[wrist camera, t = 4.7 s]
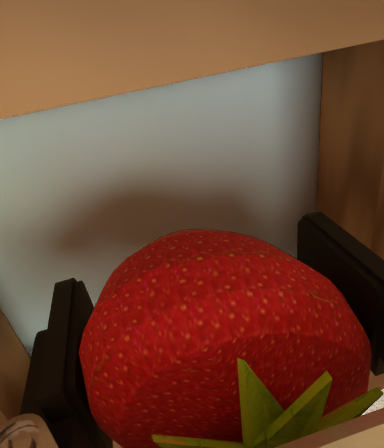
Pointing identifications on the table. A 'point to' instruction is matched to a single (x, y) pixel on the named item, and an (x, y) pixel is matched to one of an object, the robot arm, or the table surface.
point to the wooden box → (200, 67)
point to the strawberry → (221, 347)
